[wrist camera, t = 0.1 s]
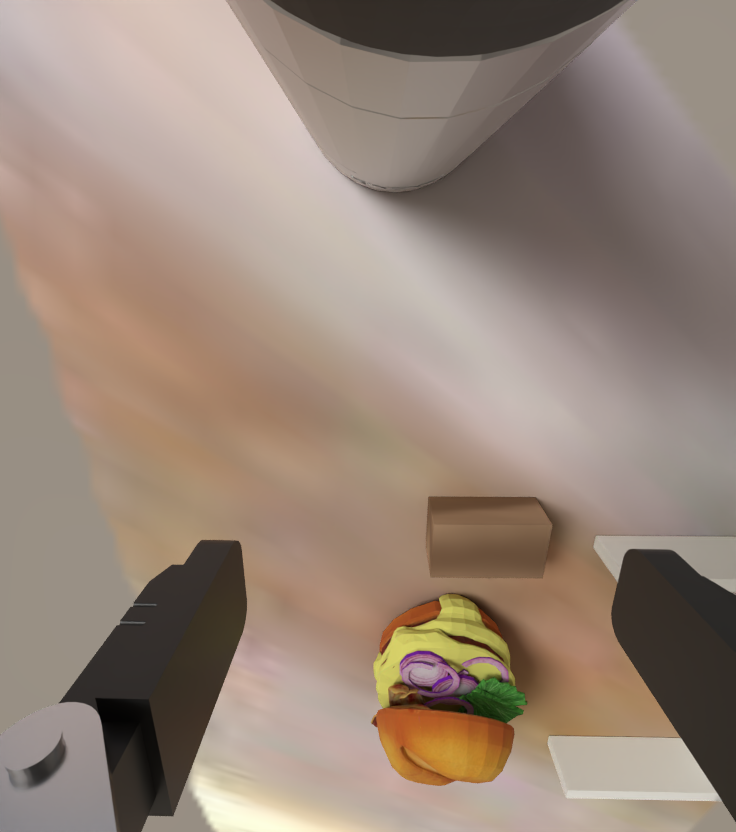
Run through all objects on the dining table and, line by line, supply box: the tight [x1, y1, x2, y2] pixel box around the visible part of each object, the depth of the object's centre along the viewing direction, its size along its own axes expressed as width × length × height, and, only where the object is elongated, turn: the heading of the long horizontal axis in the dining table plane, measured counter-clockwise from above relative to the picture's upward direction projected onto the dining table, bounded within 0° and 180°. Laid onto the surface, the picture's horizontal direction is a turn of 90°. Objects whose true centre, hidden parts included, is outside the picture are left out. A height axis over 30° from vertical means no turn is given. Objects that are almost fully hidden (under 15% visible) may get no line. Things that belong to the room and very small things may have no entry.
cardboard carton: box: [426, 497, 553, 578], centre depth 28 cm, size 4×7×3 cm, turn 90°
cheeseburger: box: [371, 594, 527, 786], centre depth 30 cm, size 10×11×10 cm
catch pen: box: [547, 536, 736, 801], centre depth 32 cm, size 22×12×4 cm, turn 0°
